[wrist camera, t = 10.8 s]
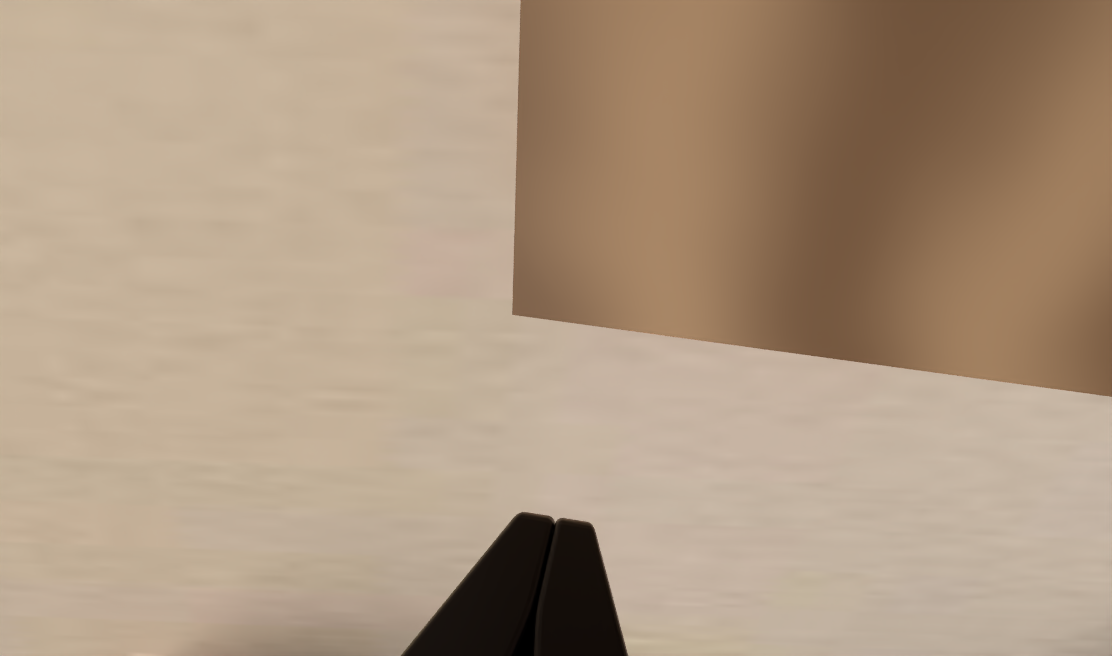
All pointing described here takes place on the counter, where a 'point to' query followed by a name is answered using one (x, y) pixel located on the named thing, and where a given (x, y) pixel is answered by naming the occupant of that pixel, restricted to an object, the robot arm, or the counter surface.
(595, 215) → the wooden block
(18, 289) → the counter surface
